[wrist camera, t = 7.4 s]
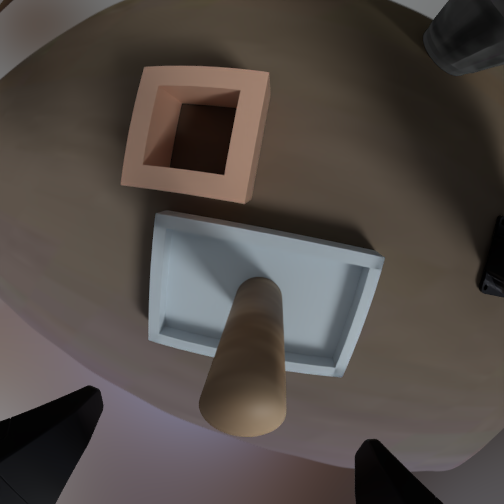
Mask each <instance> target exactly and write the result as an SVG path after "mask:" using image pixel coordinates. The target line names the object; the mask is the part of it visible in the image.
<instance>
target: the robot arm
mask: <svg viewBox="0 0 504 504" xmlns="http://www.w3.org/2000/svg"><path fill="white" fill-rule="evenodd" d="M501 221H502V223H501ZM484 286H485V287H484ZM479 290H480V291H481V292H482V293H484V294H489V295H494V296H499V297H504V216H499V217H498V218H497V222H496V227H495V231H494V236H493V240H492V244H491V248H490V252H489V256H488V259H487V263H486V266H485V270H484V273H483V276H482V279H481V282H480V285H479ZM102 411H103V401H102V396H101V392H100V390H99V389H98V388H95V387H93V386H86V387H84V388H81V389H79V390H77V391H74V392H72V393H70V394H68V395H65V396H63V397H61V398H58V399H56V400H53V401H51V402H49V403H46V404H44V405H41V406H39V407H37V408H34V409H32V410H29V411H27V412H24V413H21V414H19V415H16V416H14V417H11V419H10V418H8V419H6V420H3V421H0V504H55V503H56V502H57V500H58V498H59V496H60V494H61V492H62V490H63V488H64V487H65V485H66V483H67V481H68V479H69V477H70V475H71V474H72V472H73V470H74V468H75V466H76V465H77V463H78V461H79V459H80V458H81V456H82V454H83V452H84V451H85V449H86V447H87V445H88V443H89V441H90V439H91V437H92V434H93V432H94V430H95V427H96V425H97V422H98V420H99V418H100V416H101V413H102ZM355 498H356V504H443V503H442V502H441V501H440V500H439V499H438V498H437V497H436V498H435V495H434V494H432V492H430V491H429V490H428V489H427V488H426V487H425V486H424V485H423V484H422V483H421V482H420V481H419V480H418V479H417V478H416V477H415V476H414V475H413V474H412V473H411V472H410V471H409V470H408V469H407V468H406V467H405V466H404V465H403V464H402V463H401V462H400V461H399V460H398V459H397V458H396V457H395V456H394V455H393V454H392V453H391V452H390V451H389V450H388V449H387V448H386V447H385V446H384V445H383V444H382V443H381V442H380V441H379V440H377V439H367V440H365V441H364V442H363V444H362V445H361V447H360V448H359V449H358V451H357V452H356V454H355Z"/></svg>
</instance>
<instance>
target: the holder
mask: <svg viewBox="0 0 504 504" xmlns="http://www.w3.org/2000/svg"><path fill="white" fill-rule="evenodd" d="M270 96H271V94H270V78H269V72H262V71H254V70H246V69H236V68H224V67H207V66H150V67H144V70H143V74H142V77H141V81H140V85H139V89H138V93H137V97H136V101H135V105H134V110H133V114H132V119H131V124H130V129H129V134H128V139H127V145H126V151H125V157H124V164H123V171H122V178H121V185H124V186H132V187H139V188H147V189H154V190H161V191H168V192H175V193H182V194H188V195H194V196H201V197H207V198H213V199H219V200H225V201H231V202H236V203H242V204H245V203H247V202H248V201H250V200H251V199H252V193H253V188H254V182H255V177H256V171H257V166H258V160H259V155H260V150H261V144H262V139H263V133H264V128H265V123H266V117H267V112H268V107H269V101H270ZM182 104H198V105H210V106H221V107H230V108H237V110H236V115H235V120H234V125H233V130H232V136H231V141H230V146H229V152H228V157H227V163H226V168H225V174H224V175H220V174H214V173H207V172H200V171H193V170H185V169H177V168H170V163H171V157H172V151H173V145H174V140H175V135H176V129H177V124H178V120H179V115H180V110H181V106H182Z"/></svg>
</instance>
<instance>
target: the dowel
mask: <svg viewBox="0 0 504 504" xmlns="http://www.w3.org/2000/svg"><path fill="white" fill-rule="evenodd" d="M199 409H200V412H201V414H202V416H203V417H204V419H205V420H206V421H207V422H208V423H209V424H210V425H212V426H213V427H214V428H216V429H218V430H220V431H222V432H224V433H227V434H230V435H235V436H241V437H253V436H260V435H264V434H267V433H269V432H271V431H273V430H275V429H276V428H278V427H279V426H280V425H281V424H282V422H283V421H284V419H285V416H286V378H285V349H284V324H283V303H282V293H281V291H280V289H279V287H278V286H277V284H276V283H274V282H273V281H272V280H270V279H268V278H264V277H253V278H250V279H247V280H246V281H244V282H243V283H242V284H241V285H240V286H239V288H238V290H237V293H236V296H235V298H234V301H233V304H232V307H231V310H230V313H229V316H228V319H227V321H226V324H225V327H224V330H223V333H222V336H221V339H220V342H219V345H218V347H217V350H216V353H215V356H214V359H213V362H212V365H211V368H210V371H209V373H208V376H207V379H206V382H205V385H204V388H203V391H202V394H201V397H200V400H199Z"/></svg>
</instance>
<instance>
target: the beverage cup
mask: <svg viewBox="0 0 504 504" xmlns="http://www.w3.org/2000/svg"><path fill="white" fill-rule="evenodd" d="M423 42H424V46H425V48H426V50H427V52H428V54H429V56H430V57H431V58H432V60H433V61H434V62H435V63H436V64H437V65H438V66H439V67H440V68H441V69H442V70H444V71H445V72H447V73H448V74H451V75H454V76H462V75H464V74H468V73H475V72H478V71H481V70H485V69H488V68H492V67H495V66H499V65H503V64H504V0H449V1H448V2H447V3H446V5H445V6H444V7H443V8H442V9H441V11H440V12H439V13H438V15H437V16H436V17H435V18H434V20H433V21H432V22H431V24H430V26H429V28H428V29H427V30H426V31H425V33H424V36H423Z"/></svg>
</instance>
